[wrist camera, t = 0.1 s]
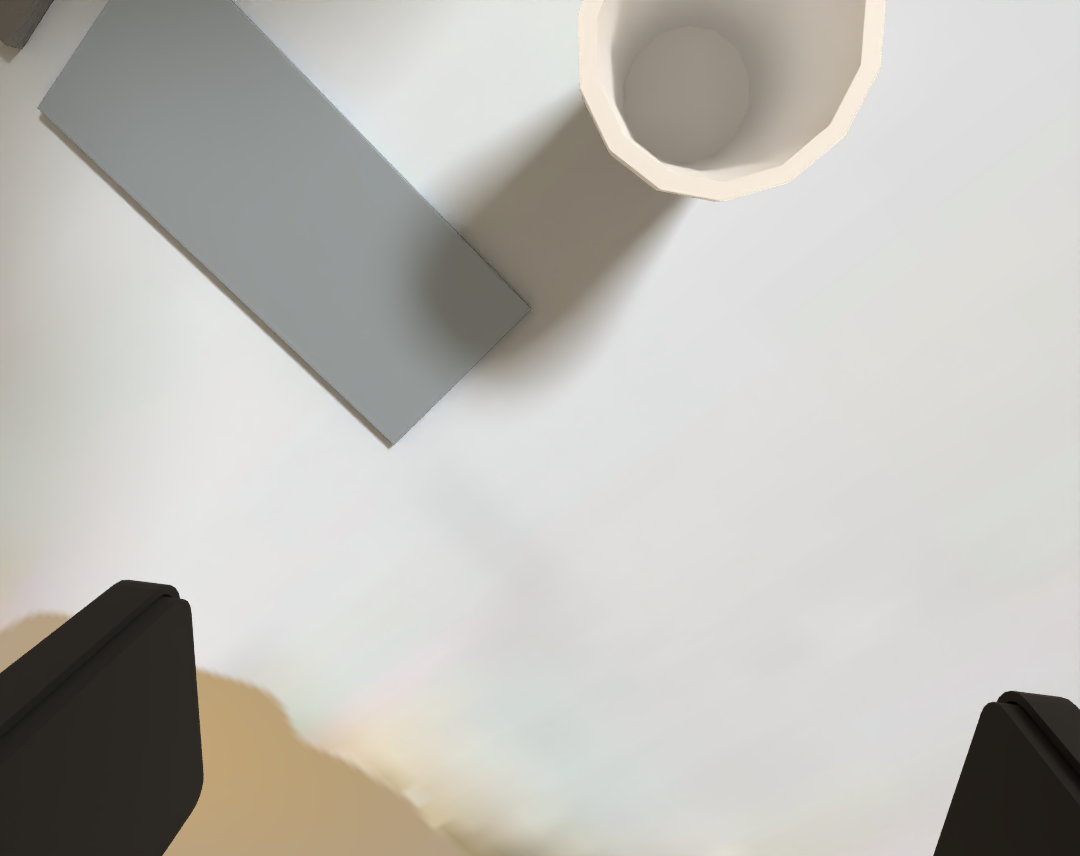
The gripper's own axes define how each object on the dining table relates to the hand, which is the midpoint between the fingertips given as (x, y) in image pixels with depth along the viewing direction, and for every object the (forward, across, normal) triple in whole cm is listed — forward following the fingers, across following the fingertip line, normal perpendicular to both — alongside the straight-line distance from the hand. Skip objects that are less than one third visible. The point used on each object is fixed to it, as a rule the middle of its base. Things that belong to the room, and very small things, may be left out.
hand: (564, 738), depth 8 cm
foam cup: (+31, -3, -11) cm, 33 cm away
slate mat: (+31, +17, -4) cm, 36 cm away
